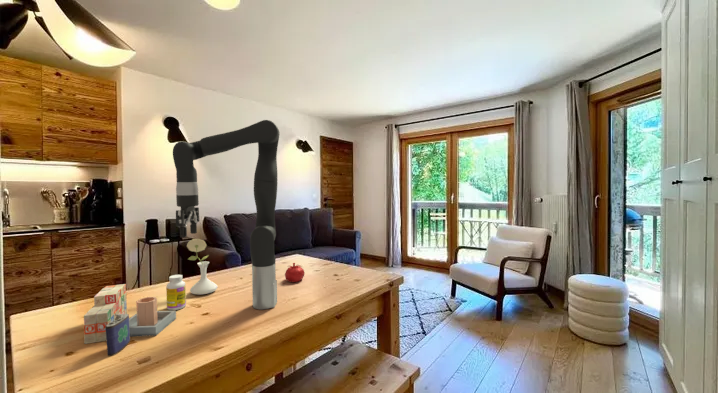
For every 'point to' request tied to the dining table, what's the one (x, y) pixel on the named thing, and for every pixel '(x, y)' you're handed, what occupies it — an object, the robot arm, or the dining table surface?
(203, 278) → the flower in vase
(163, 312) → the tray
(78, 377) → the dining table surface
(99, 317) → the stack of blocks
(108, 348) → the flask
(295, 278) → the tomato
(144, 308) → the beaker
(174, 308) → the supplement bottle
